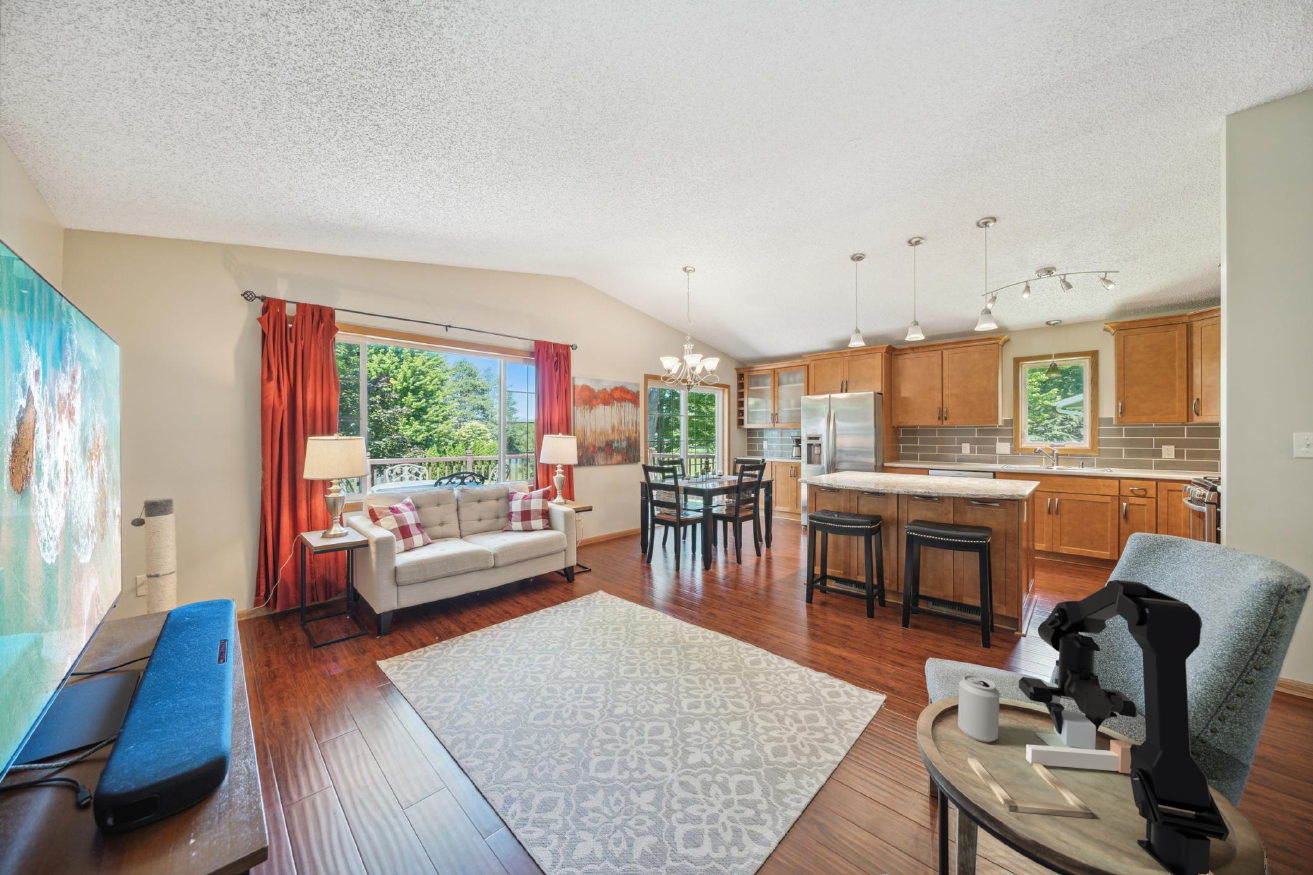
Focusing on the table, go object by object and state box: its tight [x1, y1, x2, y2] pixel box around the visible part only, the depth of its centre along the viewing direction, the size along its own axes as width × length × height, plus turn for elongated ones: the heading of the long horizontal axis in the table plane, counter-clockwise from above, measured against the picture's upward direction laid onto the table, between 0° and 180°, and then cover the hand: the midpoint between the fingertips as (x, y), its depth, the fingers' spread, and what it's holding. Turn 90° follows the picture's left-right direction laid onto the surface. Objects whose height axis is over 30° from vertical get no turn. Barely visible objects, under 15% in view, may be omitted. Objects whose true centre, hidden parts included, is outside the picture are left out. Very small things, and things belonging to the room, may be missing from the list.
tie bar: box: [1025, 739, 1132, 774], centre depth 96 cm, size 2×20×5 cm, turn 86°
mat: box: [1035, 732, 1097, 750], centre depth 102 cm, size 9×9×1 cm
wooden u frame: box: [967, 757, 1094, 819], centre depth 89 cm, size 12×14×1 cm
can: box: [957, 674, 1000, 743], centre depth 106 cm, size 8×8×12 cm
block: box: [1053, 709, 1097, 750], centre depth 102 cm, size 5×5×5 cm
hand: (1073, 735), depth 102 cm, fingers closed on block, 5 cm apart
